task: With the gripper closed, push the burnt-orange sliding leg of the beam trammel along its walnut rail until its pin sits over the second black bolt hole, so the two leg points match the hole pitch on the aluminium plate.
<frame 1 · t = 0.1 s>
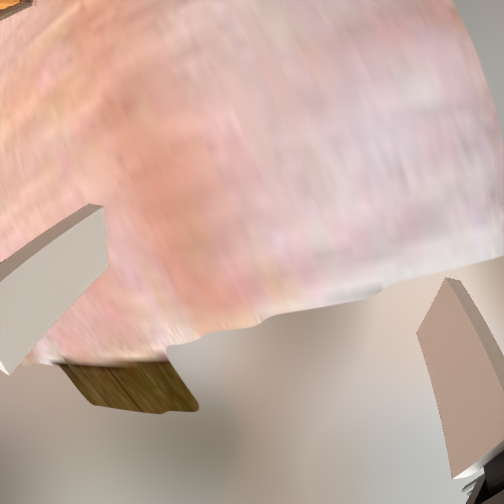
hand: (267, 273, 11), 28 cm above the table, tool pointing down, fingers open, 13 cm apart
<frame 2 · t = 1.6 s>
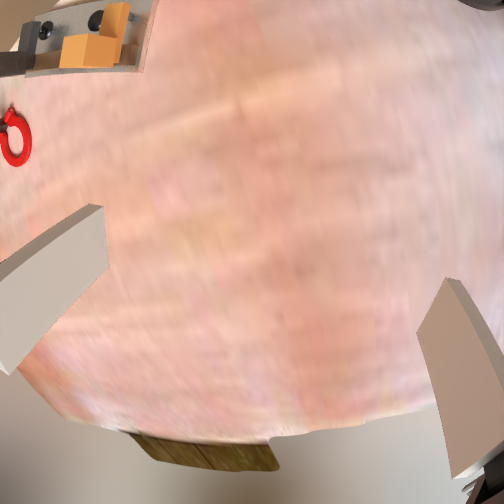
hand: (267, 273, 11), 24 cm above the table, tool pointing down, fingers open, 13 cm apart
tow hook: (17, 138, 35), on the table
fixed leg: (48, 43, 28), resting on bolt plate
moving leg: (102, 33, 22), point 6 cm above the table, slide at 5.0 cm
bolt plate: (83, 38, 27), on the table
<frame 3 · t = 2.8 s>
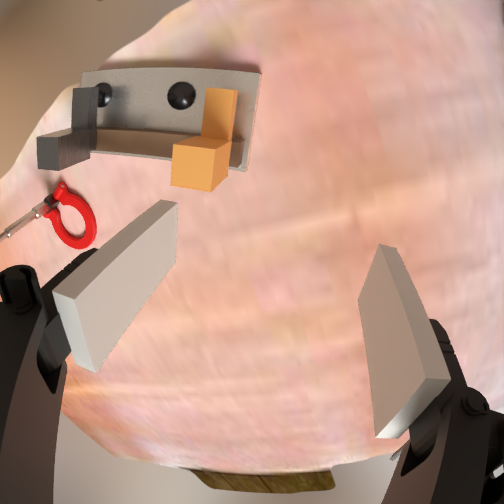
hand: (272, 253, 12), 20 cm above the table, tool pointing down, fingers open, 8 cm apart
tow hook: (73, 217, 38), on the table
fixed leg: (106, 110, 30), resting on bolt plate
moving leg: (211, 132, 24), point 6 cm above the table, slide at 5.0 cm
bolt plate: (158, 112, 29), on the table
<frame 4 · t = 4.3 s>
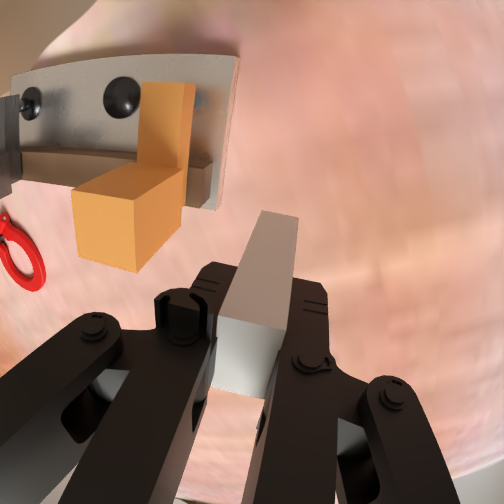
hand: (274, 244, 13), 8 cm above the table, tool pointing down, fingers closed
tow hook: (22, 254, 28), on the table
fixed leg: (40, 123, 20), resting on bolt plate
moving leg: (148, 157, 14), point 6 cm above the table, slide at 5.0 cm
bolt plate: (97, 122, 20), on the table
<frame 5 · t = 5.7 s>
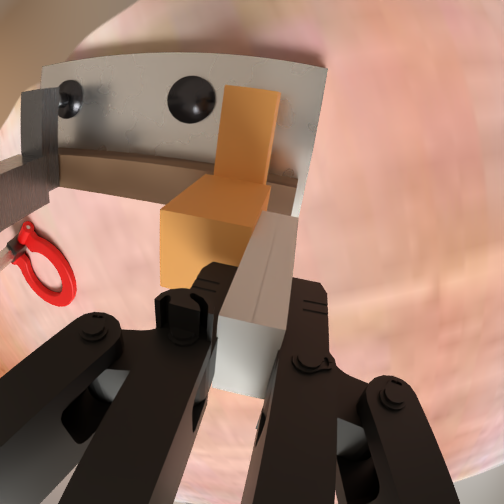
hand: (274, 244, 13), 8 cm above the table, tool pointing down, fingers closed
tow hook: (47, 266, 27), on the table
fixed leg: (77, 122, 19), resting on bolt plate
moving leg: (235, 171, 13), point 6 cm above the table, slide at 4.2 cm, touching gripper
bolt plate: (153, 125, 19), on the table
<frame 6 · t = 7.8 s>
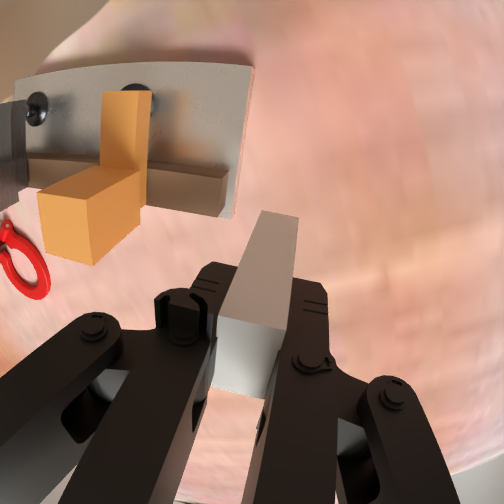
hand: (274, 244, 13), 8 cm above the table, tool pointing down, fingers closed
tow hook: (25, 261, 28), on the table
fixed leg: (45, 129, 20), resting on bolt plate
moving leg: (108, 160, 15), point 6 cm above the table, slide at 1.2 cm
bolt plate: (106, 129, 20), on the table
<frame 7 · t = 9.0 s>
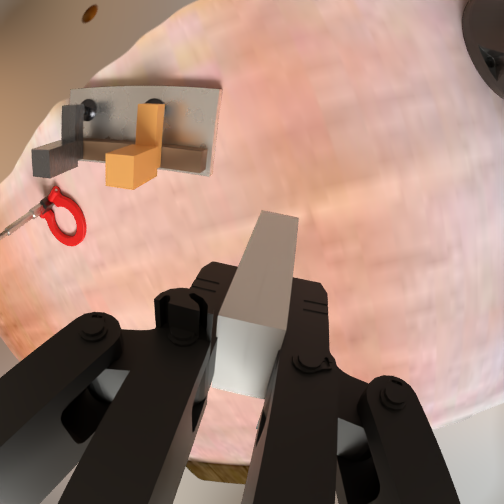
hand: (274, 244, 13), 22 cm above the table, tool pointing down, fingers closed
tow hook: (66, 217, 42), on the table
fixed leg: (92, 123, 34), resting on bolt plate
moving leg: (141, 141, 28), point 6 cm above the table, slide at 1.2 cm
bolt plate: (136, 125, 33), on the table
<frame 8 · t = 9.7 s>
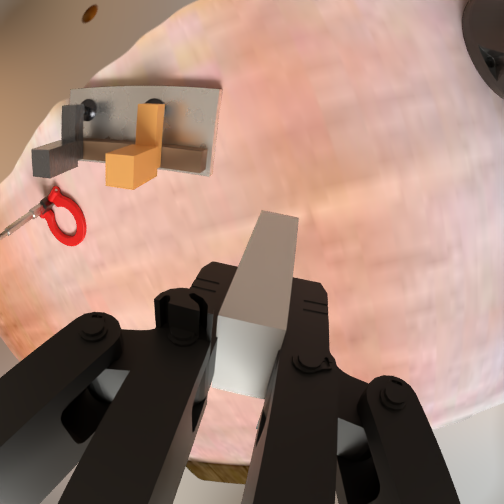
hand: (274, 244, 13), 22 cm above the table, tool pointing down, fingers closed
tow hook: (66, 217, 42), on the table
fixed leg: (92, 123, 34), resting on bolt plate
moving leg: (141, 141, 28), point 6 cm above the table, slide at 1.2 cm
bolt plate: (136, 125, 33), on the table
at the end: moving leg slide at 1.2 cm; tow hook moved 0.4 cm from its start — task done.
